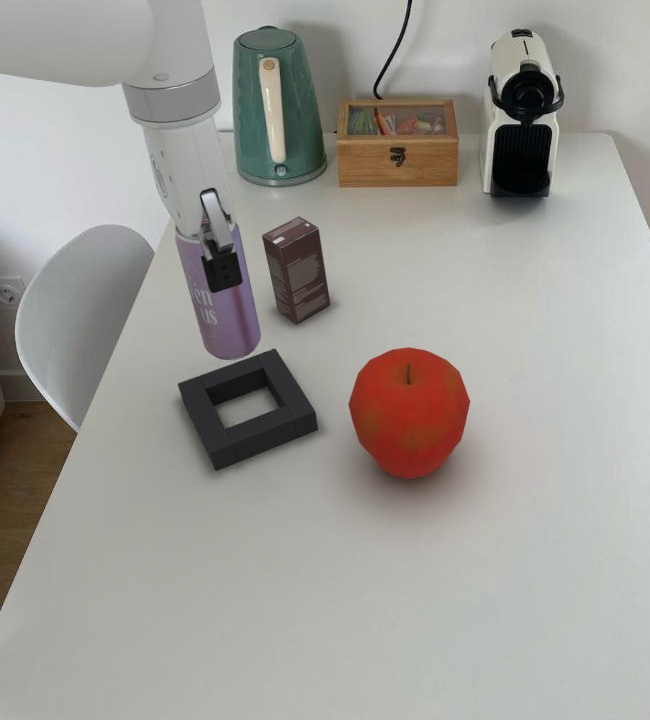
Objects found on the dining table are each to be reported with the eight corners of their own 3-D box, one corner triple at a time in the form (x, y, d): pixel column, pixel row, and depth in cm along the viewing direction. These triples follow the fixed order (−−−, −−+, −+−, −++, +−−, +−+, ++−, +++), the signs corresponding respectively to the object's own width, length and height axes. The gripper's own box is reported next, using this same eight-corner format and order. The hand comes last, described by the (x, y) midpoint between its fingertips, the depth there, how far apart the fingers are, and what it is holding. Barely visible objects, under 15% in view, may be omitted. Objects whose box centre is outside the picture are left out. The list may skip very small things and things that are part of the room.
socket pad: (215, 471, 87) (210, 452, 85) (183, 401, 95) (177, 383, 93) (318, 429, 91) (315, 411, 89) (278, 366, 99) (275, 347, 97)
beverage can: (273, 336, 86) (250, 215, 76) (237, 370, 82) (208, 248, 72) (229, 319, 88) (201, 199, 78) (193, 351, 85) (158, 230, 74)
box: (310, 290, 109) (299, 214, 101) (331, 305, 107) (321, 228, 99) (274, 310, 107) (259, 233, 98) (294, 326, 104) (281, 248, 96)
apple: (348, 427, 91) (336, 331, 81) (452, 409, 92) (453, 314, 83) (365, 515, 82) (354, 420, 72) (480, 494, 83) (484, 398, 74)
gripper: (102, 65, 71) (153, 237, 83) (155, 146, 60) (205, 331, 72) (185, 46, 73) (223, 216, 86) (251, 121, 62) (284, 304, 74)
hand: (214, 267), depth 79 cm, fingers closed on beverage can, 6 cm apart
